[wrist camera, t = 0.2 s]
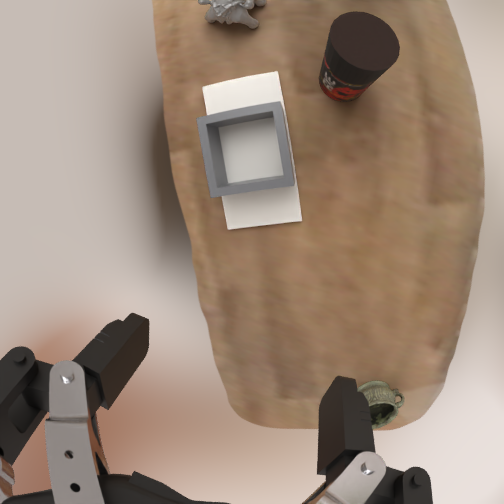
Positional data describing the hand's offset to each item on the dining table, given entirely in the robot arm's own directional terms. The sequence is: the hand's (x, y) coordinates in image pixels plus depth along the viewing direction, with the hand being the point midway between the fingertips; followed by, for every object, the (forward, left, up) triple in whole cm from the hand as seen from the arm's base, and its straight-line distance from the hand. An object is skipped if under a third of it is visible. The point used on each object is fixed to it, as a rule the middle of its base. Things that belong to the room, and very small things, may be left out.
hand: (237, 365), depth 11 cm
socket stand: (-7, -6, -29) cm, 30 cm away
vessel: (+26, +29, -29) cm, 49 cm away
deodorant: (-20, +2, -29) cm, 35 cm away
